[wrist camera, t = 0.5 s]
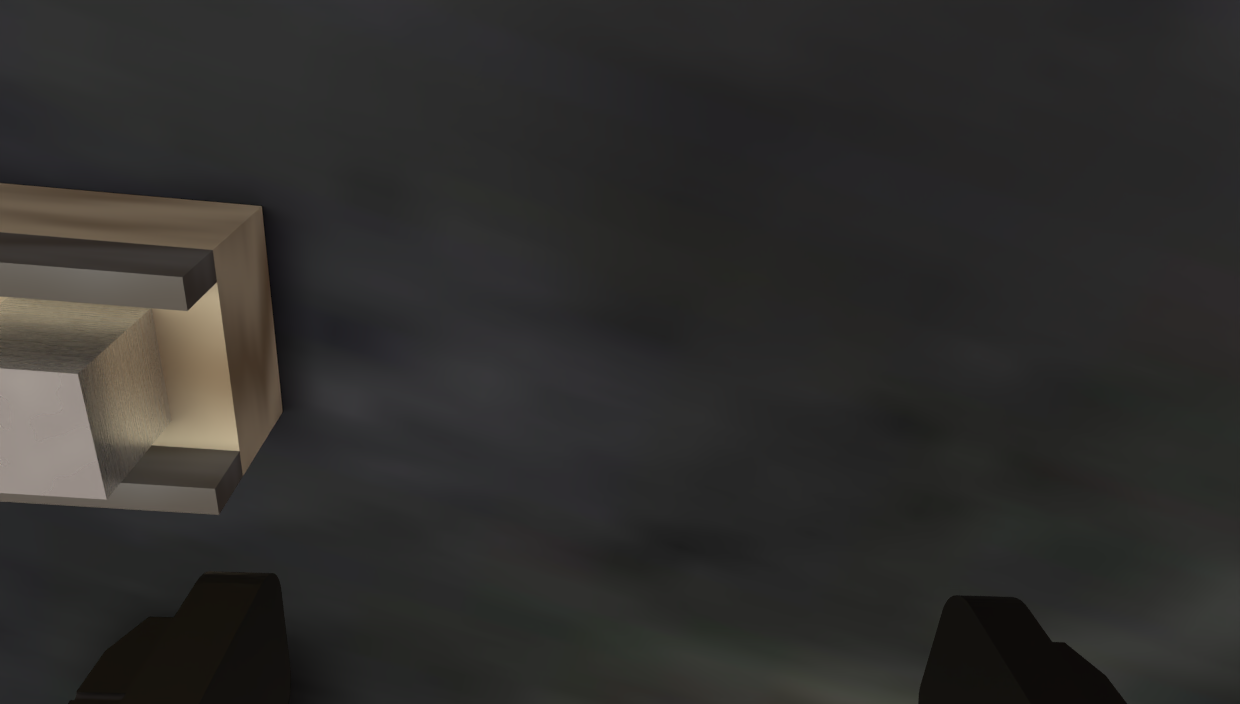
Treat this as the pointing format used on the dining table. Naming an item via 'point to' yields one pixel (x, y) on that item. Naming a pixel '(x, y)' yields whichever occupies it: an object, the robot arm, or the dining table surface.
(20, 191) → the slot board
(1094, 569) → the dining table surface
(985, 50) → the dining table surface
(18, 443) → the light grey cube
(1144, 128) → the dining table surface
